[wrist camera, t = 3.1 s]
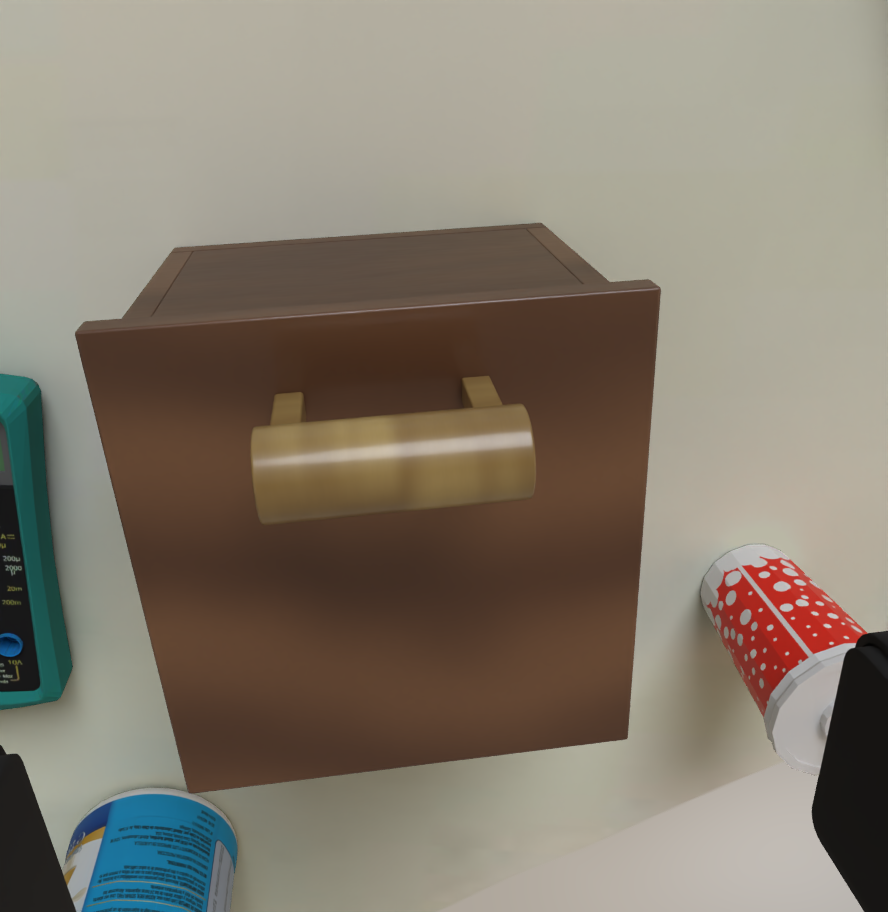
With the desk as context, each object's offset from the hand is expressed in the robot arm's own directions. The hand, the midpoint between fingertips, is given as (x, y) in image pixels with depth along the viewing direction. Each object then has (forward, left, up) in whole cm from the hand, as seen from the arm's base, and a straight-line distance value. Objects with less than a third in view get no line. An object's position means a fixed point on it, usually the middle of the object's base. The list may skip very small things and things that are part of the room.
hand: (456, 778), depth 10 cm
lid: (0, +5, -13) cm, 14 cm away
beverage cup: (-17, +17, -25) cm, 34 cm away
